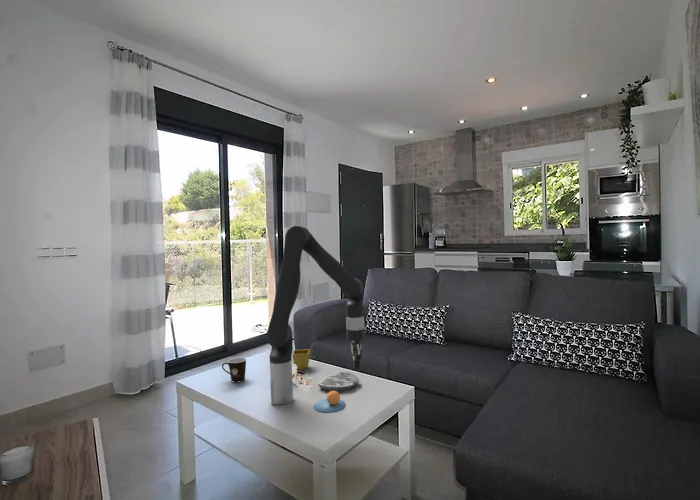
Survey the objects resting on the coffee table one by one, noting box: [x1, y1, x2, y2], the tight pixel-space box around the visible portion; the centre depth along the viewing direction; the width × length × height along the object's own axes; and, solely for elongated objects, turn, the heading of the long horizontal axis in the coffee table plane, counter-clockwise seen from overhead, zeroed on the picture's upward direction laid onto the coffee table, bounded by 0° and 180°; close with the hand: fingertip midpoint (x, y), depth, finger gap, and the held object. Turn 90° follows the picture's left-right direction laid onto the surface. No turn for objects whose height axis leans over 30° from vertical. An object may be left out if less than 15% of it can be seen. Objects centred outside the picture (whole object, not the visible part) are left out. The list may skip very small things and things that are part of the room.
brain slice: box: [318, 371, 360, 392], centre depth 177 cm, size 20×17×3 cm
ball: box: [326, 391, 341, 405], centre depth 156 cm, size 6×6×6 cm
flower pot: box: [292, 348, 310, 371], centre depth 203 cm, size 9×9×9 cm
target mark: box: [313, 398, 346, 414], centre depth 155 cm, size 13×13×1 cm
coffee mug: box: [221, 357, 247, 383], centre depth 190 cm, size 12×9×10 cm
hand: (356, 368), depth 157 cm, fingers closed
